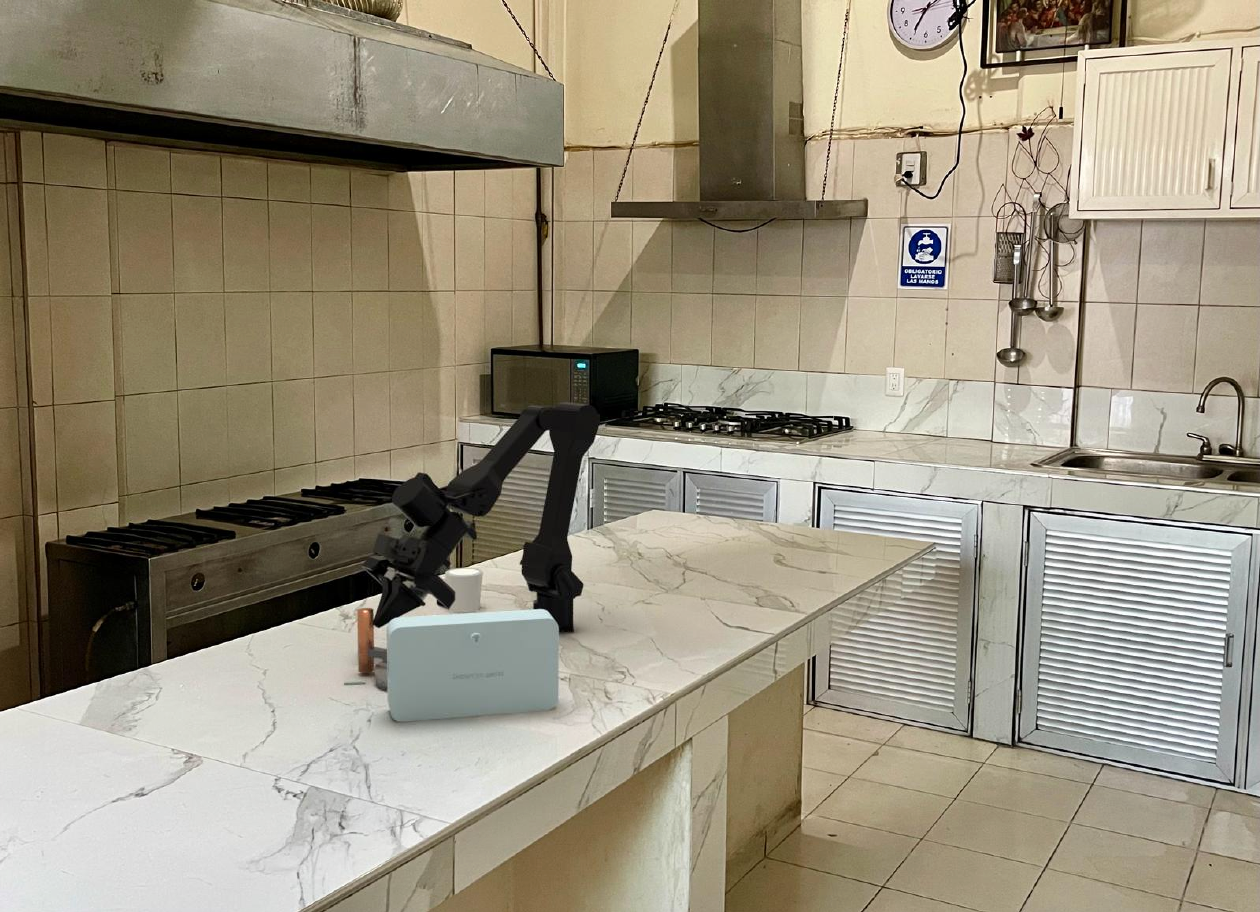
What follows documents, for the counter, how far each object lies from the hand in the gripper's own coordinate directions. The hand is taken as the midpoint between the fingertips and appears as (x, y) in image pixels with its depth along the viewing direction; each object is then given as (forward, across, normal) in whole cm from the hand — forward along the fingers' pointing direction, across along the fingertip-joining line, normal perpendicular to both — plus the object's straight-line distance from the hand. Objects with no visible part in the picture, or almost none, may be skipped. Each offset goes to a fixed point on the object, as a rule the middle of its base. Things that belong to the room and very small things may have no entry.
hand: (375, 626), depth 184 cm
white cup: (-17, -22, +28) cm, 39 cm away
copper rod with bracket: (+5, +1, +4) cm, 7 cm away
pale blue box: (+4, +23, +7) cm, 24 cm away
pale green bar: (+9, +2, +2) cm, 9 cm away
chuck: (+4, +7, +6) cm, 10 cm away
